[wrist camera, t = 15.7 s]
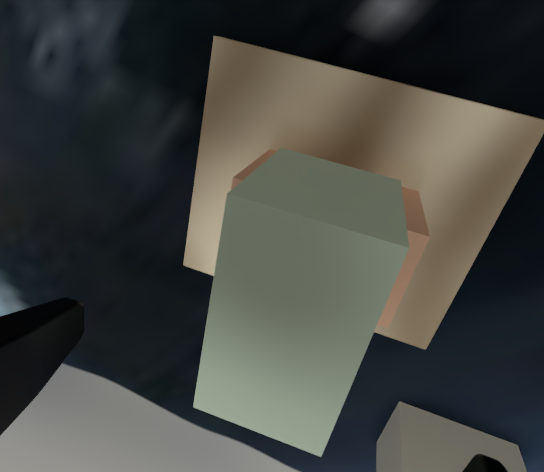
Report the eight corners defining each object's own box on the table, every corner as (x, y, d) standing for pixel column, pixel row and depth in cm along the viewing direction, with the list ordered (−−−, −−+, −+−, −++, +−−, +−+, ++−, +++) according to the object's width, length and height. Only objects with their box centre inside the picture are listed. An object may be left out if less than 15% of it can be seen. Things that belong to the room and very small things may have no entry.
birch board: (540, 118, 16) (549, 122, 15) (424, 337, 21) (425, 349, 20) (222, 36, 18) (213, 35, 17) (190, 257, 23) (183, 265, 22)
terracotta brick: (418, 191, 17) (429, 236, 13) (387, 266, 19) (388, 328, 15) (269, 148, 18) (233, 177, 14) (253, 223, 20) (216, 270, 16)
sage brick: (281, 147, 13) (227, 193, 8) (400, 180, 12) (409, 247, 8) (245, 311, 16) (192, 407, 12) (339, 343, 15) (321, 456, 11)
